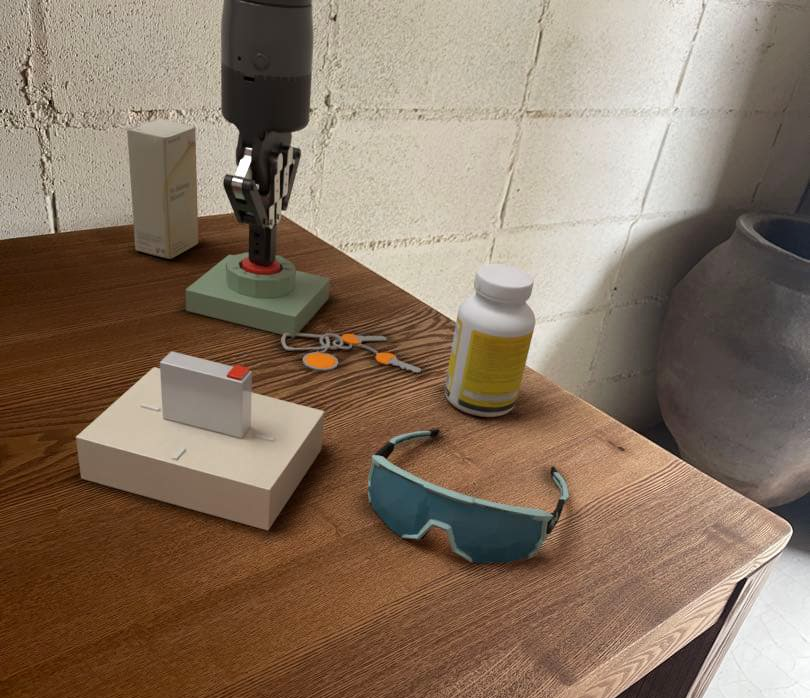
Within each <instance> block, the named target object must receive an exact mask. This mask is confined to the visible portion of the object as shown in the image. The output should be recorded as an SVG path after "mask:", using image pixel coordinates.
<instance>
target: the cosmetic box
mask: <svg viewBox="0 0 810 698" xmlns="http://www.w3.org/2000/svg"><path fill="white" fill-rule="evenodd" d="M126 132H127V134H126V135H127V144H128V145H127V149H128V162H129V163H128V164H129V176H130V177H129V178H130V191H131V192H130V193H131V207H132V220H133V235H134V249H135V251H137V252H141V253H144V254H147V255H151V256H155V257H159V258H162V259H167V260H171V259H174V258H175V257H177V256H179V255H182V253H184V252H186V251H188V250H189V249H192V248H194V247H195V246H196V245H198V244H199V213H198V212H199V211H198V210H199V209H198V207H199V206H198V177H197V176H198V172H197V171H198V170H197V143H196V142H197V139H196V138H197V137H196V135H197V134H196V126H194V125H190V124H186V123H182V122H177V121H173V120H168V119H164V118H156V119H153V120H151V121H147V122H144V123H141V124H138V125H134V126H133V127H130V128H127V129H126Z"/></svg>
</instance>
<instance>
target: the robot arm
mask: <svg viewBox="0 0 810 698" xmlns="http://www.w3.org/2000/svg"><path fill="white" fill-rule="evenodd" d="M313 2H314V0H223V4H222V13H221V20H220V95H221V97H220V98H221V99H220V104H221V105H220V108H221V109H220V111H221V115H222V117H223V119H224V120H226V122H228V123H229V124H232V125H233V126H235V127H236V129H237V130H238V138H237V143H236V148H235V163H236V164H235V165H236V166H237V168H236V171H235V173H234V175H233V174H228V173H226V174H225V175H224V176H223V181H222V184H223V189H224V191H225V194H226V197H227V199H228V201H229V204H230V206H231V209H232V211H233V214H234V216H235V218H236V221H237V223H239V224H242V225H243V224H246V225H248V252H249V261H250V262H251V263H253V264H257V265H261V266H265V267H267V266H269V265H270V264H271V263H272V262H274V261H275V259H276V255H277V236H278V235H277V234H278V224H279V223H280V222H281V219H282V212H286V211H287V209H288V207H289V203H290V199H291V195H292V191H293V188H294V184H295V180H296V176H297V172H298V168H299V165H300V161H301V158H302V150H301V148H300V147H294V146H292V141H293V140H292V138H293V135H292V134H293V133H295V132H299V131H302V130H303V129H305V128H307V126H308V125H309V123H310V116H311V115H310V114H311V96H312V95H311V94H312V93H311V92H312V79H313V77H312V76H313V60H314V58H313V57H314V39H315V37H314V36H315V35H314V34H315V33H314V20H313V19H314V17H313Z"/></svg>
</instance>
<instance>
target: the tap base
mask: <svg viewBox="0 0 810 698" xmlns="http://www.w3.org/2000/svg"><path fill="white" fill-rule="evenodd" d="M324 424H325V410H322V409H318V408H314V407H310V406H307V405H302V404H299V403H294V402H290V401H287V400H284V399H280V398H275V397H272V396H268V395H264V394H259V393H256V392H252V402H251V427H250V428H249V429H248V431H247V432H246V433H245V434H244V436H243V437H242V438H238V437H234V436H230V435H226V434H222V433H219V432H215V431H211V430H207V429H203V428H199V427H195V426H191V425H187V424H184V423H180V422H176V421H172V420H168V419H164V418H163V413H162V394H161V375H160V367H155V366H153V367H152V368H151V369H150V370H149V371H147V372H146V373H145V374H144V375H143V376H142V377H141V378H139V380H137V382H135V383H134V384H133V385H132V386H131V387H130V388H129V389H128V390H126V391H125V392H124V393H123V394H122V395H121V396H119V398H118V399H116V400H115V401H114V402H113V403H112V404H110V405H109V406H108V407H107V408H106V409H105V410H104V411H103V412H102V413H100V415H98V416H97V417H96V418H95V419H94V420H93V421H91V423H89V425H87V426H86V427H85V428H84V429H82V431H81V432H80V433H78V434H77V435H76V436H75V443H76V450H77V456H78V457H77V458H78V465H79V466H78V467H79V472H80V479H82V480H86V481H89V482H91V483H96V484H99V485H103V486H107V487H109V488H114V489H117V490H121V491H124V492H128V493H130V494H131V493H132V494H135V495H139V496H142V497H146V498H149V499H153V500H157V501H160V502H163V503H167V504H171V505H174V506H178V507H180V508H181V507H182V508H185V509H189V510H193V511H196V512H200V513H203V514H207V515H211V516H214V517H218V518H221V519H225V520H229V521H232V522H234V523H235V522H236V523H238V524H243V525H246V526H249V527H254V528H256V529H257V528H258V529H260V530H264V531H269V530H270V529H271V527H272V525H274V522H276V519H277V518H278V516H279V515H280V514H281V512H282V510H283V509H284V507H285V506H286V504H287V503H288V501H289V500H290V498H291V497H292V495H293V494H294V492H295V491H296V489H297V487H298V486H299V484H300V483H301V481H302V480H303V478H305V476H306V474H307V472H308V471H309V469H311V466H312V465H313V463H314V461H315V460H316V459H317V457H318V455H319V454H320V452H321V451H322V450H323V449H322V447H323V438H324V437H323V436H324Z"/></svg>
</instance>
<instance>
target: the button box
mask: <svg viewBox="0 0 810 698" xmlns="http://www.w3.org/2000/svg"><path fill="white" fill-rule="evenodd" d="M246 257H249V251H248V252H242V253H238V254H228V255H227V256H225V257H224V258H223V259H222V260H220V261H219V262H218V263H217V264H215V265H214V266H213V267H212V268H210V269H209V270H208V271H207V272H205V273H204V274H202V276H200V277H199V278H198V279H197V280H196V281H194V282H193V283H191V285H190V284H189V286H188V287H187V288H185V311H186V312H189V313H194V314H198V315H201V316H205V317H210V318H212V319H217V320H221V321H225V322H229V323H233V324H237V325H240V326H245V327H249V328H253V329H257V330H262V331H265V332H269V333H273V334H277V335H281V336H283V334H284V333H288V334H290V336H288V337H290V338H296V336H295V334H296V333H301V331H302V330H303V328H304V327H305V326H306V325H307V324H309V321H310V320H312V319H313V318H314V316H315V315H316V314H317V312H319V310H320V309H321V308H322V307H323V306H324V305H325V303H326V302H327V301H328V300H329V299H330V287H331V278H330V277H326V276H321V275H315V274H313V273H308V272H304V271H300V270H296V267H295V264H294V263H293V262H291V261H290V260H288V259H287V258H284V257H283V256H281V255H277V254H276V259H275V260H277V261H278V262H279V263H280V273H276V274H272V275H257V274H253V273H249V272H246V271H244V270H243V269H242V261H243V259H245V258H246Z"/></svg>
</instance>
